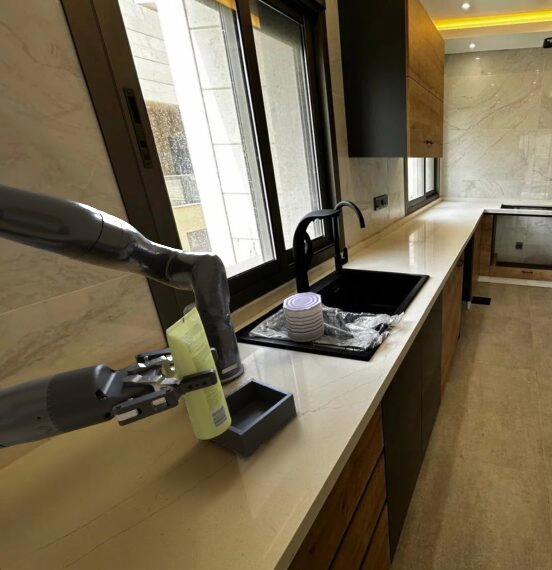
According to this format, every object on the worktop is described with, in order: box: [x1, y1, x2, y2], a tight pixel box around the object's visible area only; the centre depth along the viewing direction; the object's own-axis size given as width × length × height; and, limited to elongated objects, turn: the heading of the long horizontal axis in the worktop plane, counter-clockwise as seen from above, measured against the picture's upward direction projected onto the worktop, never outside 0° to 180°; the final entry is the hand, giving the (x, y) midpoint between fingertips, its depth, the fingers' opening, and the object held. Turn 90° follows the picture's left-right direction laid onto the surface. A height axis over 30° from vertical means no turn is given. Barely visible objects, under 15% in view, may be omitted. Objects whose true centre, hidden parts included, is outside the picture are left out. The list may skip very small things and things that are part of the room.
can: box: [282, 291, 325, 343], centre depth 104 cm, size 11×11×12 cm
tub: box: [210, 377, 298, 459], centre depth 69 cm, size 13×13×6 cm
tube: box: [165, 307, 231, 440], centre depth 48 cm, size 6×5×20 cm
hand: (216, 364), depth 49 cm, fingers closed on tube, 5 cm apart
